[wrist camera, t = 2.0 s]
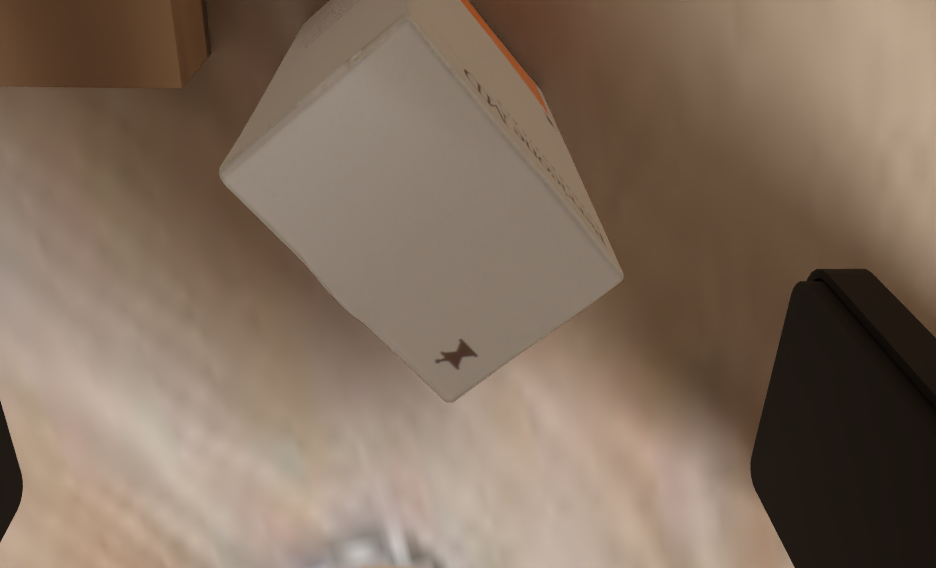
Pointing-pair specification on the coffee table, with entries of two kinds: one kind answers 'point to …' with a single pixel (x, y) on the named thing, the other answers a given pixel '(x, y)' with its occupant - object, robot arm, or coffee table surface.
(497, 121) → the skincare box
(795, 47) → the coffee table surface
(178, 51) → the socket block
